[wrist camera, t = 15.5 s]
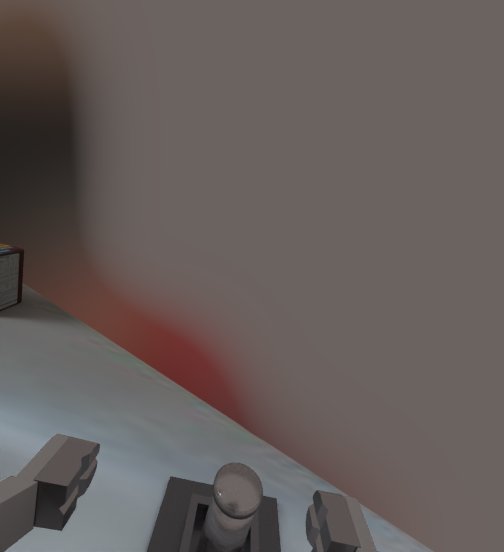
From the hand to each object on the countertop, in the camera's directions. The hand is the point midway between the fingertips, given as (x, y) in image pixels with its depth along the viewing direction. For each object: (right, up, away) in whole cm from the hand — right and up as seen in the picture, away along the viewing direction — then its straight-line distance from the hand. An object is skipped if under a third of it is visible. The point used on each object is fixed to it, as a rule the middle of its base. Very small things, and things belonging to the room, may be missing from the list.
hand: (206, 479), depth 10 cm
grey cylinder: (-3, -26, +21) cm, 33 cm away
